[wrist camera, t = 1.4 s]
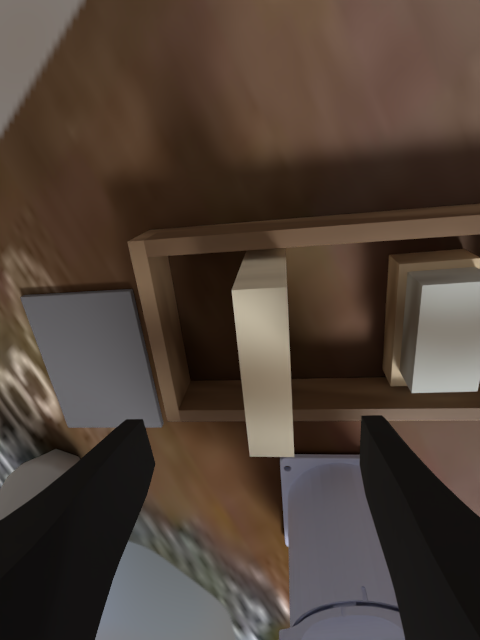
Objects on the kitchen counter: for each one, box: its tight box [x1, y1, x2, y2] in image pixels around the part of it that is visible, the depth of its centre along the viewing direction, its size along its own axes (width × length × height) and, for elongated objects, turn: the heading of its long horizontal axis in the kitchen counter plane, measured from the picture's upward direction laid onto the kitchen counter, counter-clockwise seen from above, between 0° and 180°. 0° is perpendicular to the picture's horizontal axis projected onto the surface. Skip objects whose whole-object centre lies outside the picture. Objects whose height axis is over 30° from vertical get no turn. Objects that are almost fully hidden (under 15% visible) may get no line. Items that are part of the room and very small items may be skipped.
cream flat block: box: [231, 248, 294, 457], centre depth 17 cm, size 8×2×7 cm, turn 6°
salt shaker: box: [0, 449, 80, 520], centre depth 22 cm, size 6×6×13 cm
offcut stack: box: [382, 249, 480, 393], centre depth 18 cm, size 7×4×4 cm, turn 7°
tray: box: [127, 203, 480, 422], centre depth 19 cm, size 11×19×3 cm, turn 96°
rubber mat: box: [20, 289, 163, 427], centre depth 23 cm, size 10×7×1 cm
